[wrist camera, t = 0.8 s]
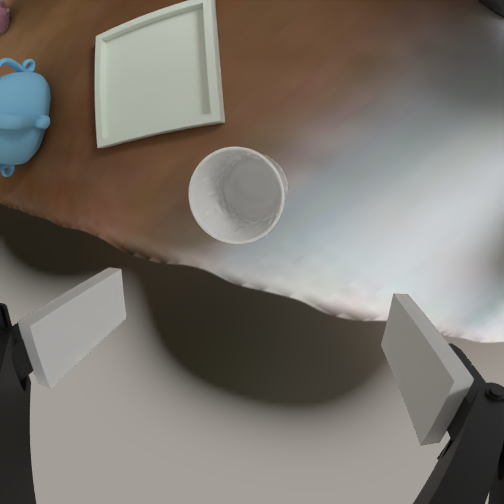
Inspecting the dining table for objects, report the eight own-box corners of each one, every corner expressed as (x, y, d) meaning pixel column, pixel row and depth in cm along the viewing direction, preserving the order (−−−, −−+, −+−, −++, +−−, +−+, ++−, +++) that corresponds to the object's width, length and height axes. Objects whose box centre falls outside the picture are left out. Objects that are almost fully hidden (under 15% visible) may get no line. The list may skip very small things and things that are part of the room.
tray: (215, 0, 27) (210, -6, 25) (225, 122, 32) (220, 121, 30) (103, 39, 30) (96, 36, 29) (105, 147, 35) (97, 148, 34)
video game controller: (18, 23, 33) (6, 6, 26) (2, 36, 32) (-11, 21, 25) (12, 7, 31) (1, -8, 25) (-3, 20, 31) (-15, 5, 24)
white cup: (257, 234, 35) (235, 263, 25) (209, 185, 34) (170, 195, 25) (308, 187, 32) (305, 198, 23) (257, 135, 31) (233, 126, 22)
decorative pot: (70, 133, 36) (-2, 136, 23) (19, 180, 40) (-40, 193, 28) (53, 54, 32) (-8, 42, 20) (5, 107, 37) (-49, 108, 24)
